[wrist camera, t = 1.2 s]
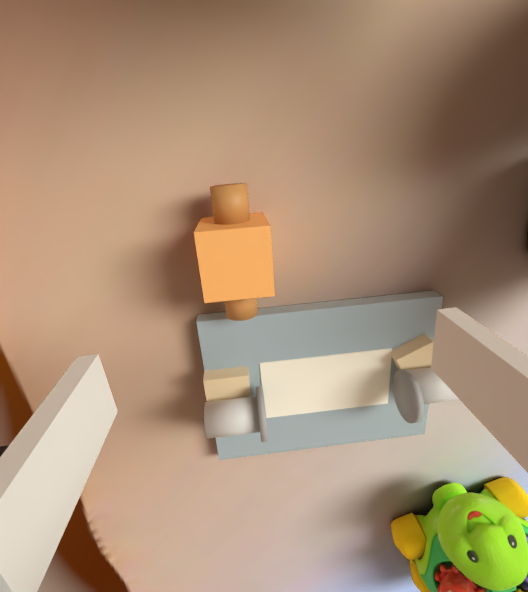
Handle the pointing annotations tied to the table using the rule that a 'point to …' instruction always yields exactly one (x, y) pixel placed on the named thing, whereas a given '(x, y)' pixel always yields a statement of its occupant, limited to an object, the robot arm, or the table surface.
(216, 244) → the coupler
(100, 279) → the table surface
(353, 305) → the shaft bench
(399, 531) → the turtle toy
